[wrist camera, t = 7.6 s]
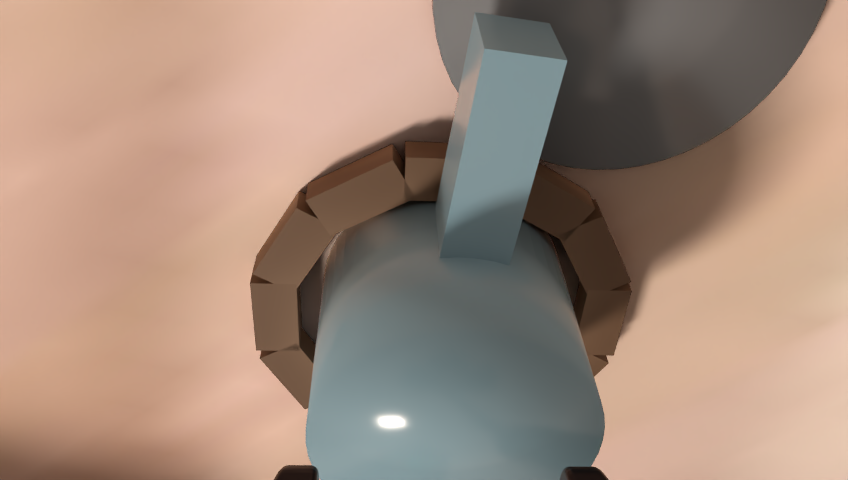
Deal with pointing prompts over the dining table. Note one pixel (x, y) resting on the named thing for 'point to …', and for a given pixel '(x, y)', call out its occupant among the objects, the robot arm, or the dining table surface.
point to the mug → (460, 303)
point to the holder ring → (419, 181)
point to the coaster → (647, 68)
